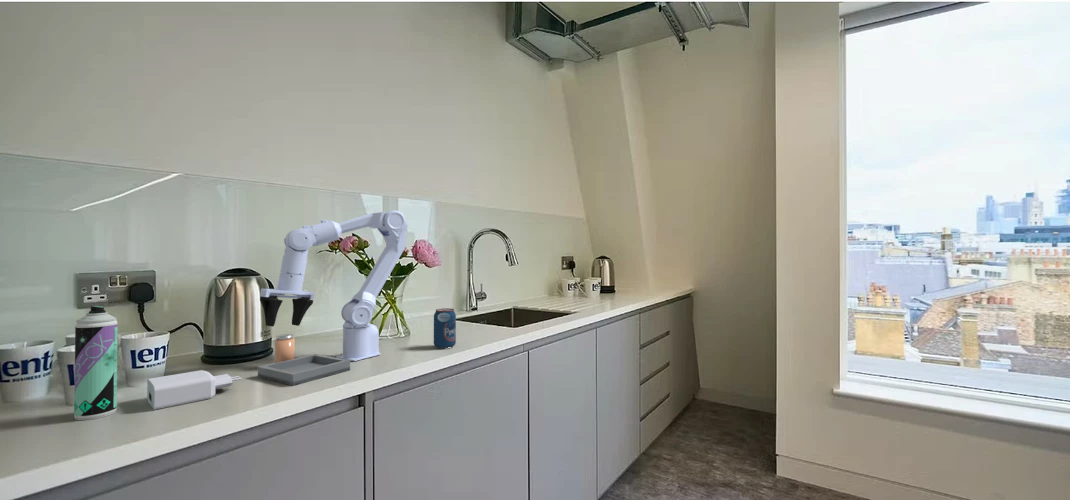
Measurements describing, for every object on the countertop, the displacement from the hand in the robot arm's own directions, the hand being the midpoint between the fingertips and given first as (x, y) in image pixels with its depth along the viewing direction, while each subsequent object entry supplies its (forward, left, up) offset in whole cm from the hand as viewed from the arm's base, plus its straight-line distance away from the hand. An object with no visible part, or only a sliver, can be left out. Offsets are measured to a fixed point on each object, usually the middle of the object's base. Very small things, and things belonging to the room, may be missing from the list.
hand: (283, 325), depth 112 cm
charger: (+22, +7, -11) cm, 26 cm away
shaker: (-1, -1, -11) cm, 11 cm away
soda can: (-40, +20, -11) cm, 46 cm away
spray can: (+36, +2, -11) cm, 38 cm away
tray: (+1, +10, -11) cm, 15 cm away
